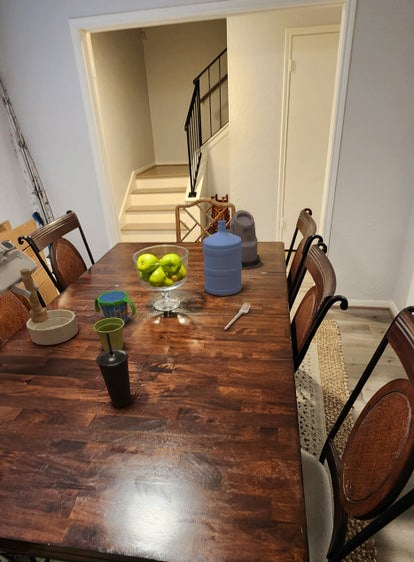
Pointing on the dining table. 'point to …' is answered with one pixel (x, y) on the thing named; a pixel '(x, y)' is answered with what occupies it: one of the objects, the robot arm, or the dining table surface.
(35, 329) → the bowl
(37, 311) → the wooden pestle
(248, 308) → the fork
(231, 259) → the water jug
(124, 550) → the dining table surface
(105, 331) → the plant pot
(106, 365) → the drinking cup
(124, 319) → the snack cup
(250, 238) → the machine
